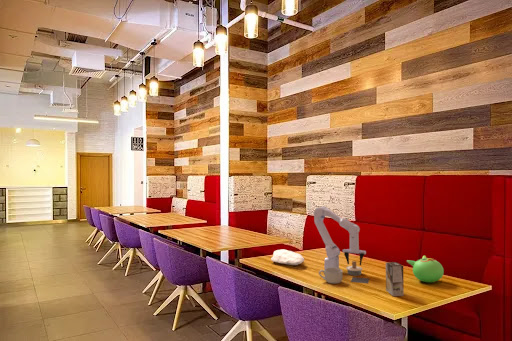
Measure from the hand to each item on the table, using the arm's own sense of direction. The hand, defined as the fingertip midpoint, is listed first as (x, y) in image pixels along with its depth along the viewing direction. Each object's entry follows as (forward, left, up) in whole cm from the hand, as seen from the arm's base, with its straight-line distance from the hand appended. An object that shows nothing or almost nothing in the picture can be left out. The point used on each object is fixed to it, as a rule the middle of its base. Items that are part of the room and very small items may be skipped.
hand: (354, 264), depth 242 cm
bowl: (0, 0, -6) cm, 6 cm away
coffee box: (+25, -32, -7) cm, 41 cm away
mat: (+5, -14, -6) cm, 16 cm away
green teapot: (+43, -1, -7) cm, 44 cm away
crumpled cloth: (-48, +15, -7) cm, 51 cm away
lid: (0, 0, -3) cm, 3 cm away
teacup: (-11, -24, -7) cm, 27 cm away
